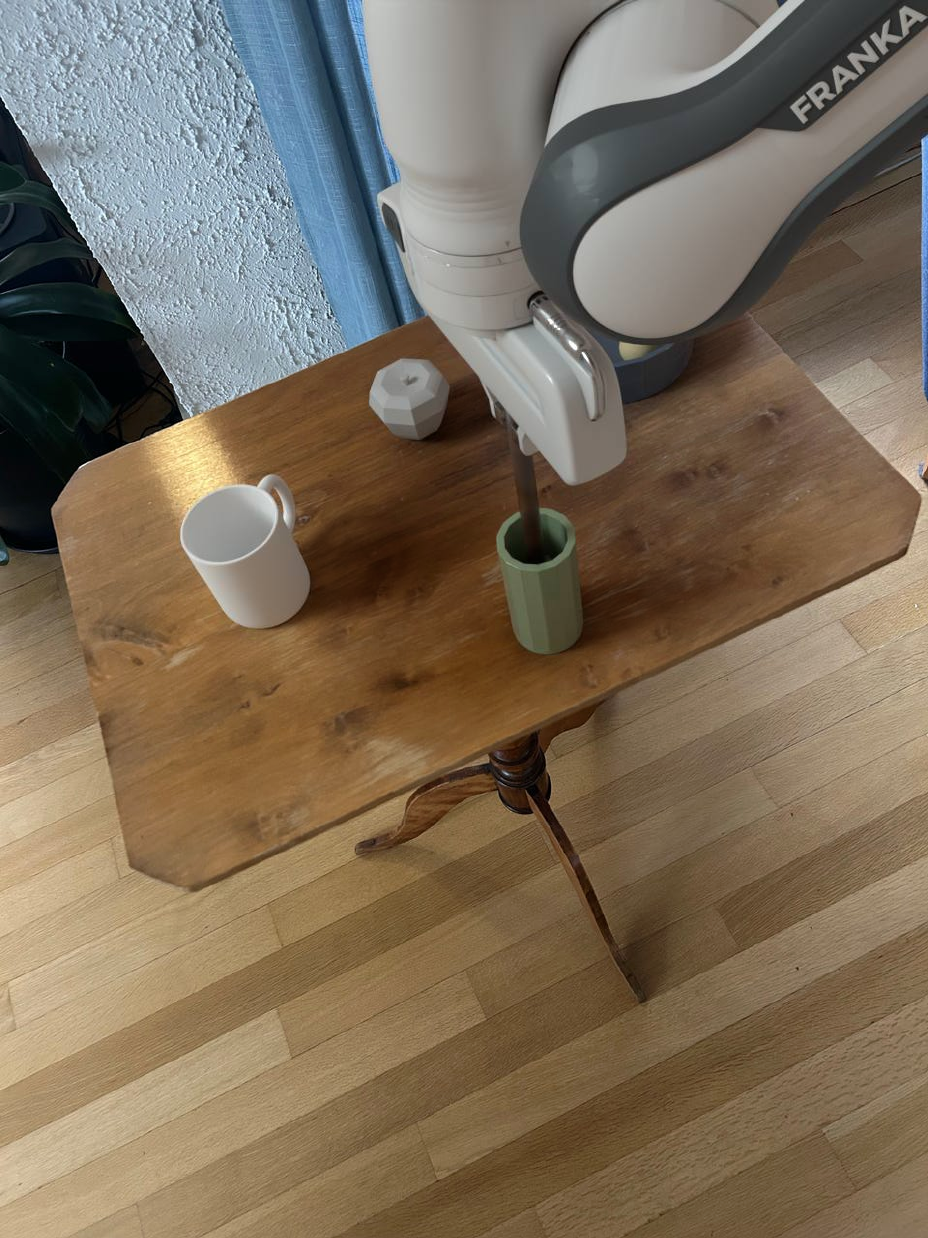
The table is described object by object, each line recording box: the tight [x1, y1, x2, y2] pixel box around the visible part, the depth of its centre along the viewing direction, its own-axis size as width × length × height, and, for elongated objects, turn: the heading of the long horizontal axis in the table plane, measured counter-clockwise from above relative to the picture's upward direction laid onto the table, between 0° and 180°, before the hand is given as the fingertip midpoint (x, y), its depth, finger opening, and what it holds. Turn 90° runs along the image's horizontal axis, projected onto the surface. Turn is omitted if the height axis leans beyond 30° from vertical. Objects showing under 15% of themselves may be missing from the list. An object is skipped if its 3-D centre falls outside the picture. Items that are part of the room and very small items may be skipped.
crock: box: [495, 507, 584, 655], centre depth 78 cm, size 6×6×12 cm
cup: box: [179, 473, 311, 630], centre depth 86 cm, size 8×12×10 cm
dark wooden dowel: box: [504, 408, 552, 565], centre depth 70 cm, size 2×1×24 cm, turn 118°
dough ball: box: [619, 342, 657, 361], centre depth 95 cm, size 4×4×4 cm
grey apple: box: [368, 357, 451, 441], centre depth 95 cm, size 8×8×7 cm
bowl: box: [585, 328, 695, 405], centre depth 97 cm, size 16×16×5 cm
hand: (520, 431), depth 63 cm, fingers closed on dark wooden dowel, 1 cm apart
